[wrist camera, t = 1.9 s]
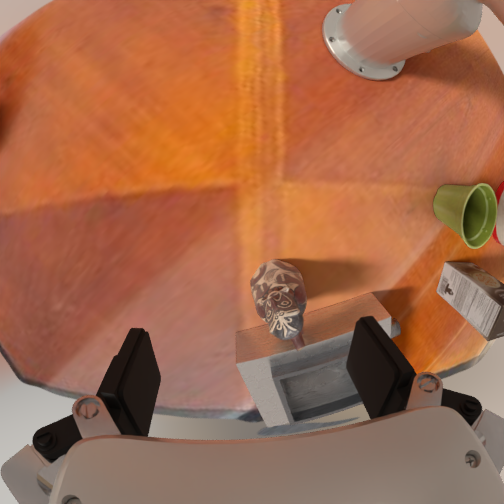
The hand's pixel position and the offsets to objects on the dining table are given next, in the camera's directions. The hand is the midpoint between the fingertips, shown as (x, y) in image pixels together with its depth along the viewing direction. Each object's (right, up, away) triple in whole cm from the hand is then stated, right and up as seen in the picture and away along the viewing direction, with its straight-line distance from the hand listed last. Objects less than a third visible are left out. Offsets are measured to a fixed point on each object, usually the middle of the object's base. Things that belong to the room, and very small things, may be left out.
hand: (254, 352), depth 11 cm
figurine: (+3, 0, +27) cm, 27 cm away
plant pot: (+31, +12, +24) cm, 41 cm away
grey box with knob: (+12, -13, +32) cm, 36 cm away
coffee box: (+38, 0, +29) cm, 48 cm away
